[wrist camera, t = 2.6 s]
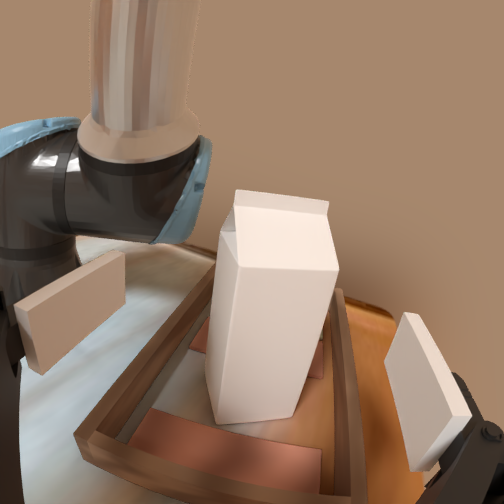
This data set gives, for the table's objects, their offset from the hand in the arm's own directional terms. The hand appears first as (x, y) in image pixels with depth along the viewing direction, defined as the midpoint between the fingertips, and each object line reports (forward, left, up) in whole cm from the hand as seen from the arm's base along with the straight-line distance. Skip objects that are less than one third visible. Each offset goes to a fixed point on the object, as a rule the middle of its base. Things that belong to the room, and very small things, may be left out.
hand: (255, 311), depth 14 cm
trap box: (-5, +14, -15) cm, 22 cm away
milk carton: (-4, +9, -16) cm, 19 cm away
